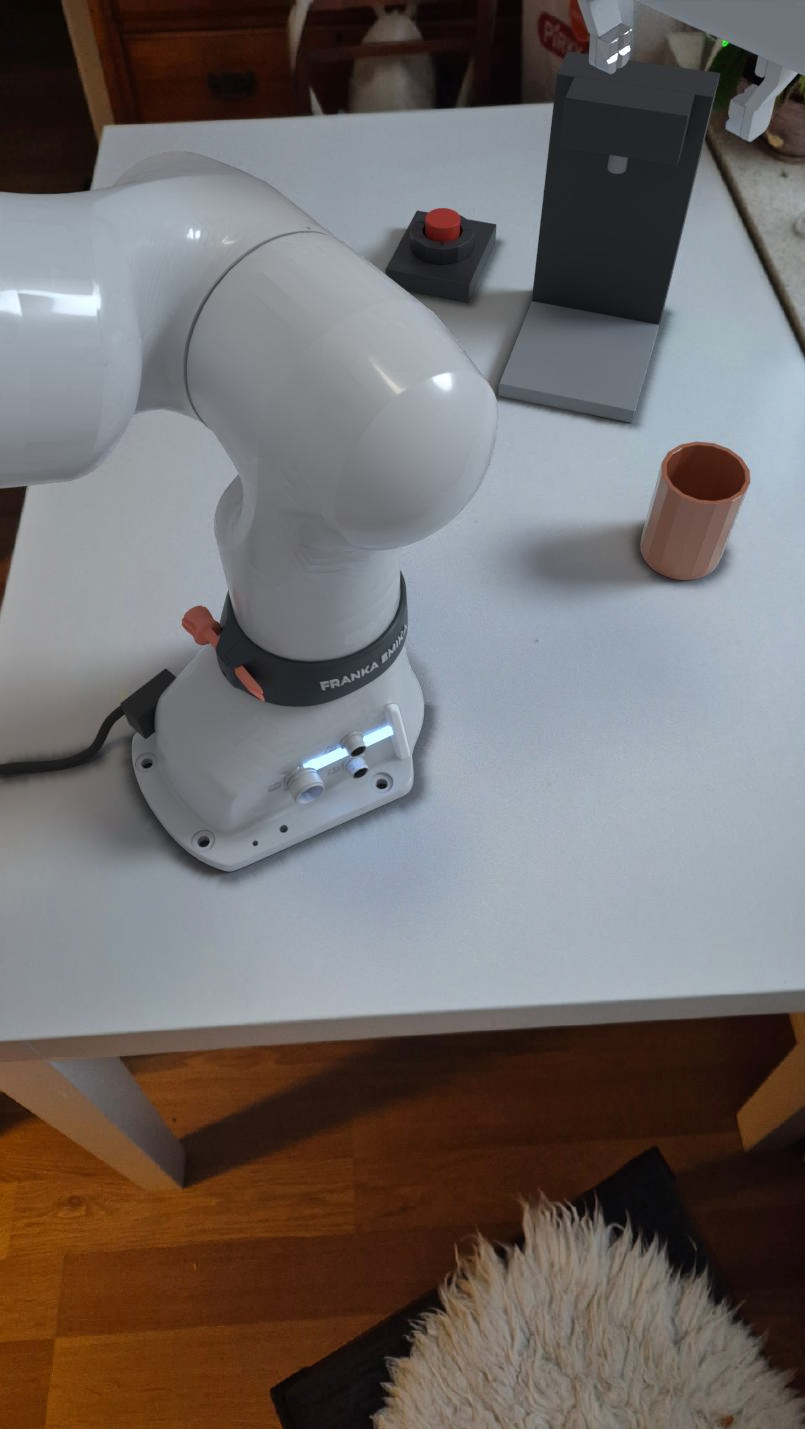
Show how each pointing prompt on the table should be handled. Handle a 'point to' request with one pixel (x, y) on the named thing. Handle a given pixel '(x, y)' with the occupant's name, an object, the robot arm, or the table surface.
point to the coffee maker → (608, 232)
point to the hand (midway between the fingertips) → (674, 97)
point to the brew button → (442, 225)
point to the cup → (693, 509)
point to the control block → (442, 259)
